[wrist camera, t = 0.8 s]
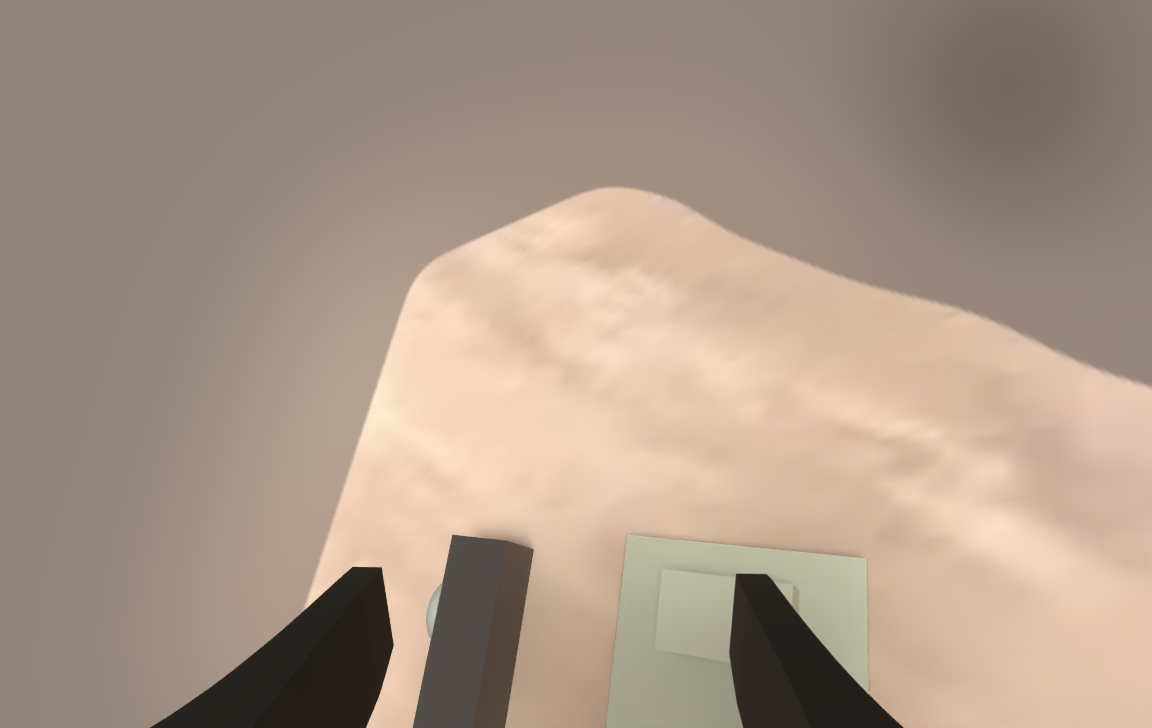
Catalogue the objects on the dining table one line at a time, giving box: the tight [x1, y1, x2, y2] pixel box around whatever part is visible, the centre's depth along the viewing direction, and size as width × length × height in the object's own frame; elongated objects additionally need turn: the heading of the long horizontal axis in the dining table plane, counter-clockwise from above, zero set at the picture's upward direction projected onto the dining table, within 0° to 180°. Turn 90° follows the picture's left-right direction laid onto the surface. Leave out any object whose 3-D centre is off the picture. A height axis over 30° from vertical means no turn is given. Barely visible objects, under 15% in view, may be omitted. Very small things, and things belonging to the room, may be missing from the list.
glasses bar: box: [413, 535, 534, 728], centre depth 30 cm, size 16×4×3 cm, turn 171°
